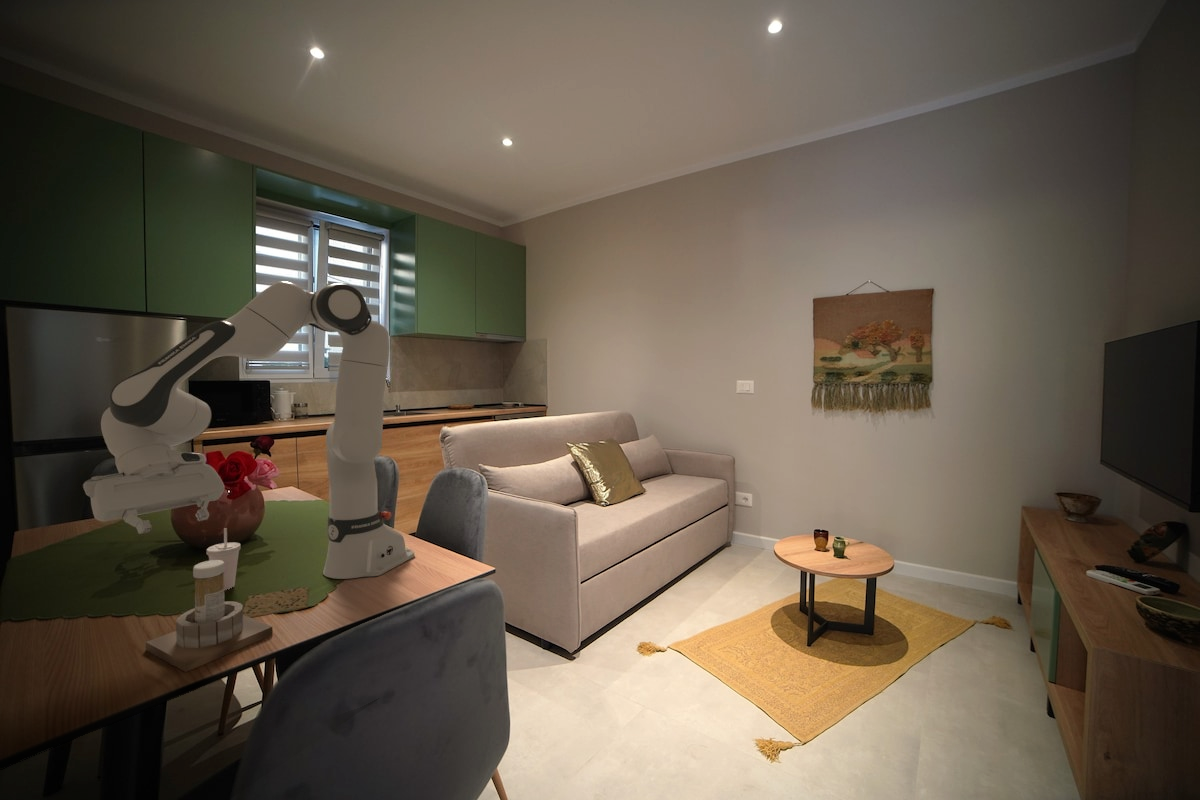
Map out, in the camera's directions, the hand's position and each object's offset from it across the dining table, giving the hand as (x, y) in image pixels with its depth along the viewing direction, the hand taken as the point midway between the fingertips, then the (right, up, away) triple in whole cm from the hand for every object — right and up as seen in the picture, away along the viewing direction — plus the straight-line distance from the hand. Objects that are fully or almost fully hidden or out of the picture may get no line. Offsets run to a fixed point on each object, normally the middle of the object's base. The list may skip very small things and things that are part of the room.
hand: (176, 524), depth 98 cm
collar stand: (+10, -21, -4) cm, 24 cm away
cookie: (+12, -21, +12) cm, 27 cm away
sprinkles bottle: (+10, -20, -4) cm, 23 cm away
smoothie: (-5, -20, +19) cm, 28 cm away
